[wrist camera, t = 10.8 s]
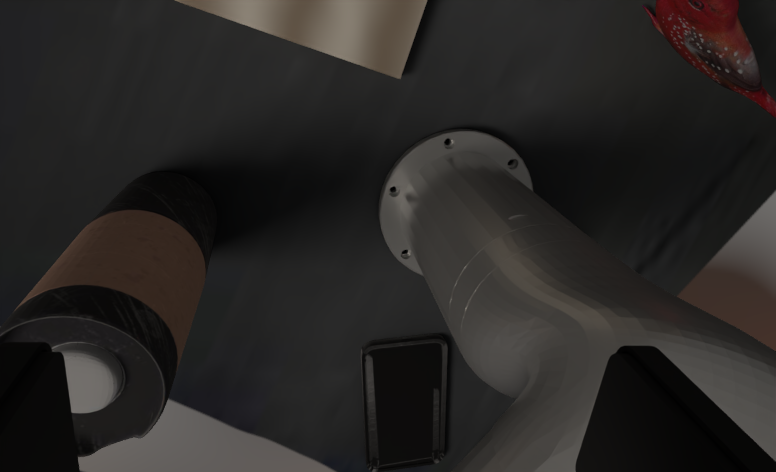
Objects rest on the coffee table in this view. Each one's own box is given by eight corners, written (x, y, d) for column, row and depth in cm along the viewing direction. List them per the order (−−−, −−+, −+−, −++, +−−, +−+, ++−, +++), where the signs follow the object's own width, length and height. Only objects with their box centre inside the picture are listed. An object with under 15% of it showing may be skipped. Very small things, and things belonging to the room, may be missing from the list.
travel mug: (135, 149, 39) (0, 284, 21) (237, 194, 41) (197, 349, 23) (98, 238, 41) (-54, 432, 23) (198, 276, 43) (133, 478, 25)
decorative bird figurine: (619, -51, 39) (720, -66, 30) (750, 102, 45) (866, 129, 36) (591, -16, 39) (681, -20, 30) (724, 130, 46) (831, 163, 37)
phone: (367, 473, 54) (361, 347, 48) (365, 464, 55) (359, 339, 49) (445, 462, 55) (449, 337, 49) (442, 454, 56) (446, 330, 50)
